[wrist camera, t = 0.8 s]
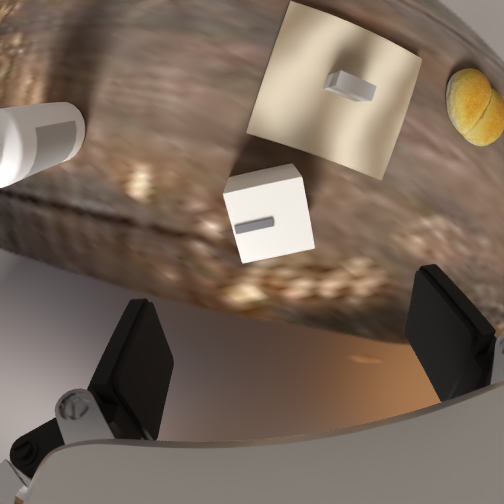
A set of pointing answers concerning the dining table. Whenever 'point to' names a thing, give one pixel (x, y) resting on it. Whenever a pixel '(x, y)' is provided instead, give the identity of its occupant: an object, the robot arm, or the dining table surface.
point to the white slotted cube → (269, 213)
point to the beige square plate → (335, 91)
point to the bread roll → (475, 107)
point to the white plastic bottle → (37, 138)
